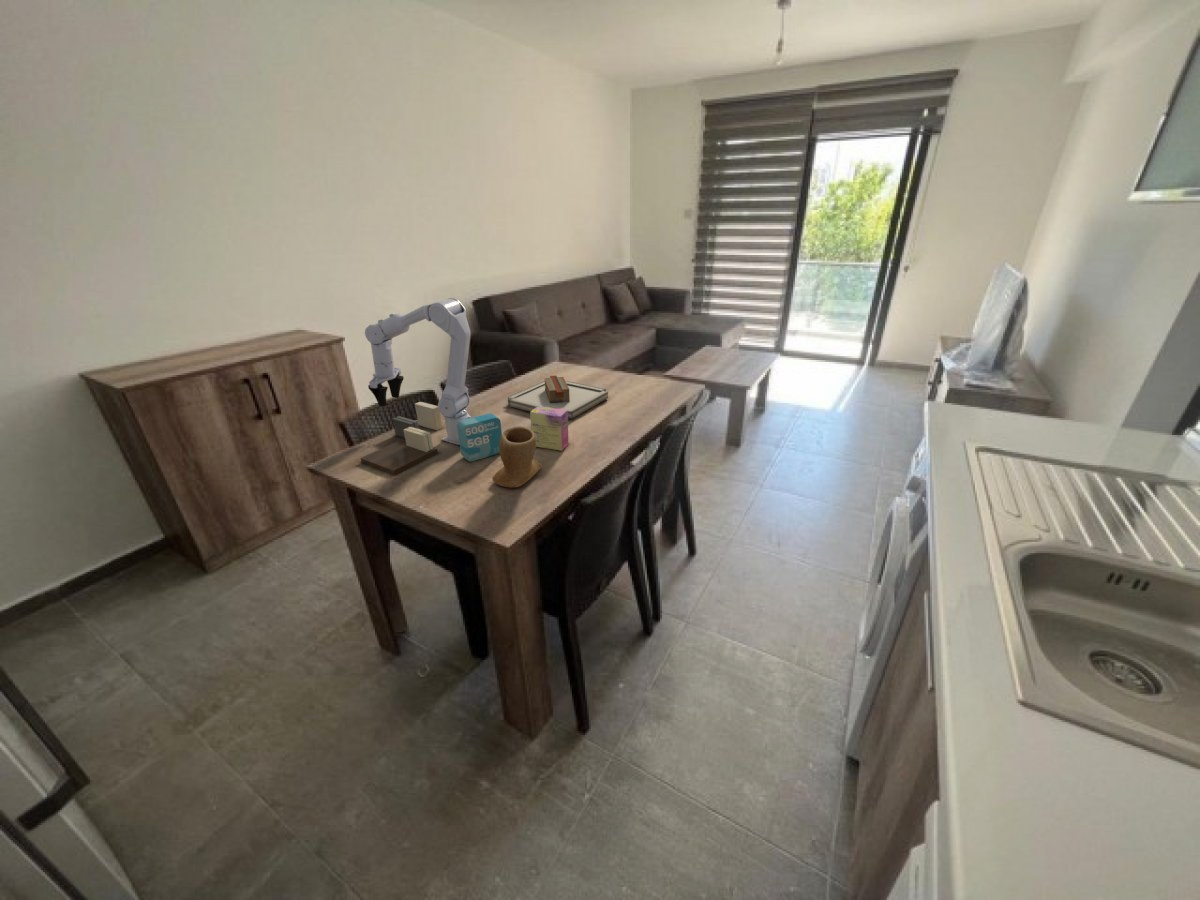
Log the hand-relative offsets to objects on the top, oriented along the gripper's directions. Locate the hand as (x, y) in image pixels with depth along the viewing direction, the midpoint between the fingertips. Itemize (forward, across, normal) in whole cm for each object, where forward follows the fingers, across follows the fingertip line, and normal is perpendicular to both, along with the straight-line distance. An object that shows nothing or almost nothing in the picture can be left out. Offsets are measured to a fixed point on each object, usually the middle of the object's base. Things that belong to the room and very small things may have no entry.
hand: (389, 401), depth 157 cm
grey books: (+10, +3, +7) cm, 13 cm away
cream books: (+8, +12, +17) cm, 22 cm away
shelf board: (+10, +17, +13) cm, 24 cm away
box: (+7, +1, +56) cm, 56 cm away
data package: (+8, +12, +37) cm, 40 cm away
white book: (+10, -6, +10) cm, 16 cm away
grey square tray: (+8, -36, +48) cm, 61 cm away
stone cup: (+7, +23, +53) cm, 58 cm away
